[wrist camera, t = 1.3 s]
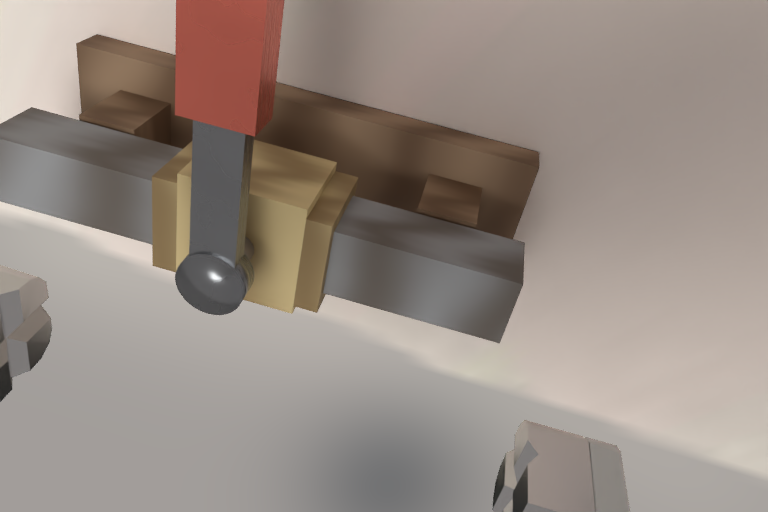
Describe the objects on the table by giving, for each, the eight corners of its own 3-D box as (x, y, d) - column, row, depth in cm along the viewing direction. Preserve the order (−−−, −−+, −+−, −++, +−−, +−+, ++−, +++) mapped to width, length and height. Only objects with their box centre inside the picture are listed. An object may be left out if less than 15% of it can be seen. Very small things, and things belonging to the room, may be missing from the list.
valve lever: (253, 301, 30) (238, 325, 28) (191, 283, 30) (172, 306, 28) (289, -52, 21) (270, -44, 20) (202, -75, 21) (177, -68, 20)
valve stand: (538, 152, 36) (539, 272, 26) (497, 267, 40) (483, 407, 30) (96, 34, 37) (-63, 105, 27) (104, 158, 42) (-32, 258, 32)
